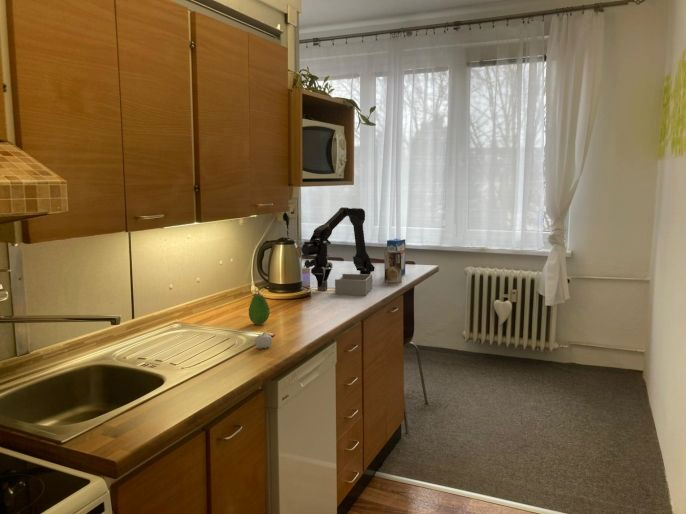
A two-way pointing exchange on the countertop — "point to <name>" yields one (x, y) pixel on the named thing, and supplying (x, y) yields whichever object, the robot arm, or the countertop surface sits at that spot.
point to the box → (353, 284)
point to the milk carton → (398, 246)
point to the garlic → (263, 341)
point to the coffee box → (392, 266)
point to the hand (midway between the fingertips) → (322, 284)
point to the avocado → (258, 310)
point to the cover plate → (329, 291)
